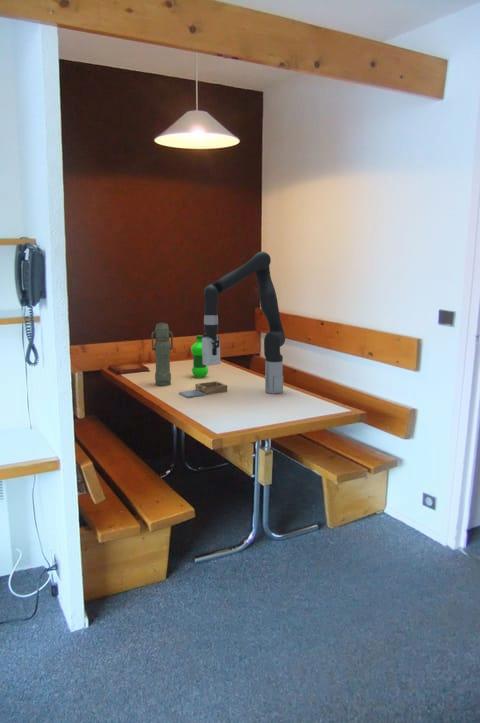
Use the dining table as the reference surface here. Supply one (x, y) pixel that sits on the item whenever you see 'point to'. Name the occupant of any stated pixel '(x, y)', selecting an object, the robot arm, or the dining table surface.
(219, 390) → the wooden crate
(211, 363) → the skincare box
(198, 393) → the slate pad
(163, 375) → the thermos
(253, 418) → the dining table surface
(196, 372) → the plastic bottle
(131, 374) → the dining table surface
